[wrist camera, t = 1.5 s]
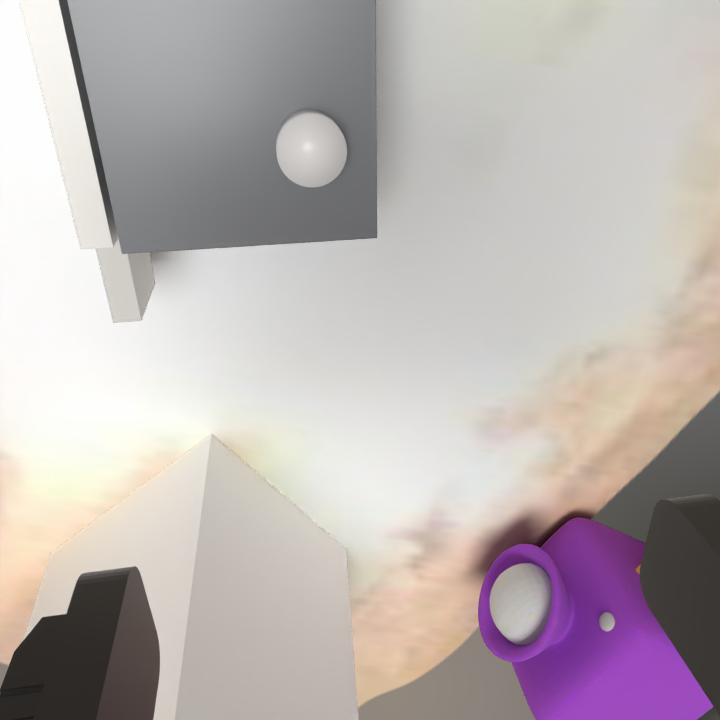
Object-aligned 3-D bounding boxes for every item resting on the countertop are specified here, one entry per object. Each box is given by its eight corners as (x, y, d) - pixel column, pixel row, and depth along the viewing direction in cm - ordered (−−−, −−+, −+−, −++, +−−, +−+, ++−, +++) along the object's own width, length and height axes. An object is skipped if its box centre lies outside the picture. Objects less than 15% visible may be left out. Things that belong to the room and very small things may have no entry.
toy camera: (504, 483, 38) (575, 628, 29) (685, 525, 42) (795, 664, 33) (430, 606, 42) (472, 763, 34) (599, 634, 46) (676, 780, 38)
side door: (47, -133, 21) (-35, -181, 15) (89, -133, 21) (23, -181, 15) (132, 270, 28) (98, 343, 22) (162, 268, 28) (137, 341, 22)
